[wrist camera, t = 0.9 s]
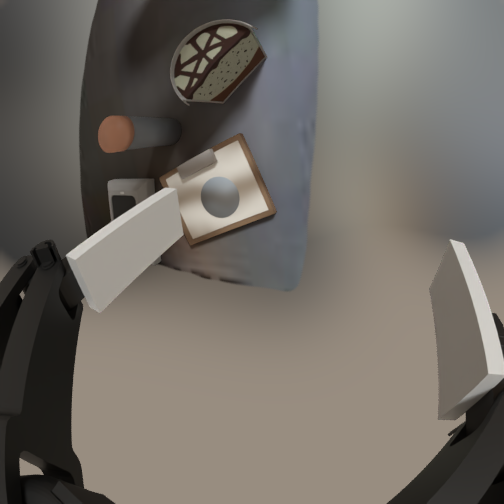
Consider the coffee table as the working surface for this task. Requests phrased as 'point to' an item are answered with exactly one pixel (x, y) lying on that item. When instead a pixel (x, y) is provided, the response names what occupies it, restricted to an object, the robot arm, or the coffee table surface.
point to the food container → (215, 61)
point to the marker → (137, 133)
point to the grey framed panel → (129, 196)
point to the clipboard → (219, 190)
